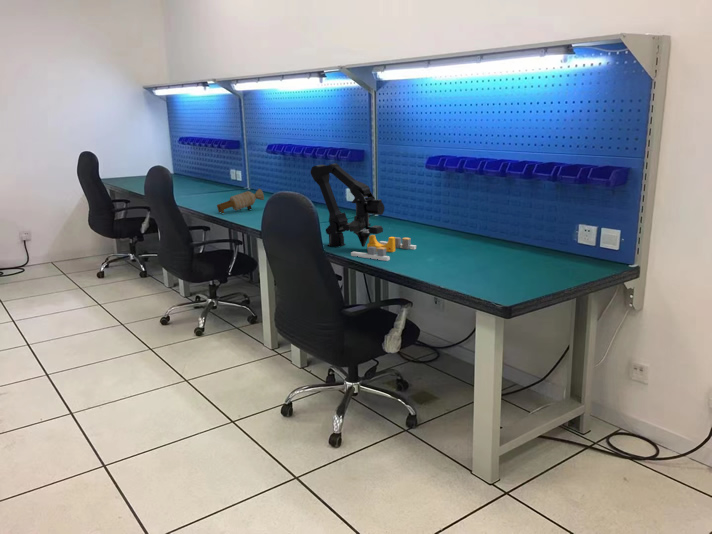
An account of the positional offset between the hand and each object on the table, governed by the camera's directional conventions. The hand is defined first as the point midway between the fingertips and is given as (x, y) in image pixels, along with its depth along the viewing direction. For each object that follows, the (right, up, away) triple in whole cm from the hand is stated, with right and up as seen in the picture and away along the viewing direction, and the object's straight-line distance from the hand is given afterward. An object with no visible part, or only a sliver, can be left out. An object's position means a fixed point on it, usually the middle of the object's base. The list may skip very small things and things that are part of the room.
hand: (363, 246), depth 270 cm
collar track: (+9, -3, -6) cm, 11 cm away
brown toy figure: (-78, +27, +112) cm, 139 cm away
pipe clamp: (+8, -2, -4) cm, 9 cm away
